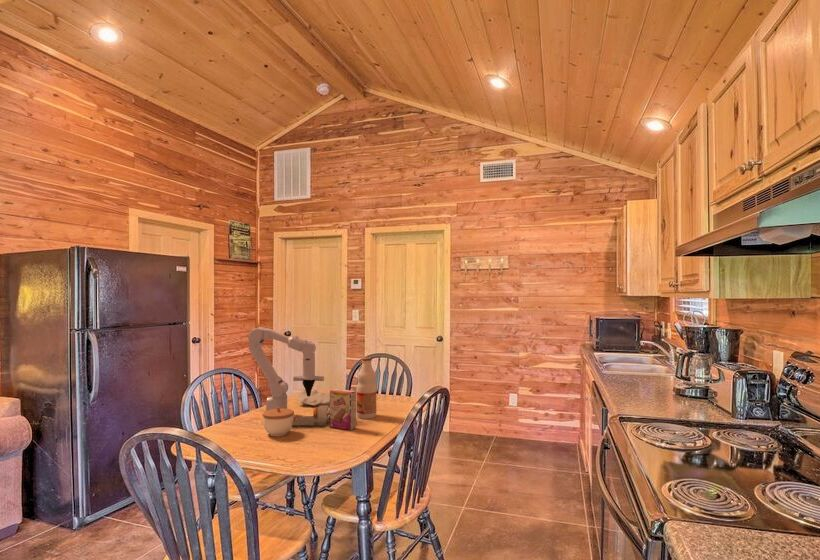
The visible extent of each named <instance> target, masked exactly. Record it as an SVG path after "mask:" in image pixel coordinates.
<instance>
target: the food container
mask: <svg viewBox="0 0 820 560" xmlns="http://www.w3.org/2000/svg"><path fill="white" fill-rule="evenodd" d="M296 400H297V401H298V402H299V403H301V404H302V405H304V406H313V407H319V406H329V408H330V392H319V391H318V390H317V389H314V390H311V395H310V396H307V394H306V390H305V388H303V390H302V391H300V392H299V393H298V395H297V396H296Z"/></svg>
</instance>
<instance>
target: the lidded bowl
mask: <svg viewBox="0 0 820 560" xmlns="http://www.w3.org/2000/svg"><path fill="white" fill-rule="evenodd" d="M294 415H295V410H293V409H292V408H287V409H286V408H280V407H277V409H271V410H267V411H266V410H265V411H264V412H263V413H262V417H263V418H262V420H263V422H262V423H263V427H264V430H265V431H266V432H267V433H268V434H269V436H271V437H283V436H286V435H288V432H289V431H291V429H292V428H293V427H292V425H293V422H294V417H295V416H294Z"/></svg>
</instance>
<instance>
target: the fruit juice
mask: <svg viewBox="0 0 820 560" xmlns="http://www.w3.org/2000/svg"><path fill="white" fill-rule="evenodd" d="M372 362H373V359H372V357H369V356H363V357H361V367H360V370H359V371H358V373H357V376H356V379H357V382H358V383H357V385H356V418H358V419H362V420H363V419H364V420H368V419H369V420H370V419H375V418H376V417H377V384H376V379H377V373H376V372H375V370H374V369H373V366H372V365H373V364H372Z"/></svg>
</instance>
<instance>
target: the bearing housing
mask: <svg viewBox="0 0 820 560" xmlns="http://www.w3.org/2000/svg"><path fill="white" fill-rule="evenodd" d="M327 410H330V407H329V406H318V417H317V418H314V417H313V415H312V416H311V415H309V416H306V415H305V416H304V415H301V416H300V415H299V416H297V417H296V418H295V420H294V419H293V425H292V427H291V428H326V426H327V424H328V422H330V415H327Z"/></svg>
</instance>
